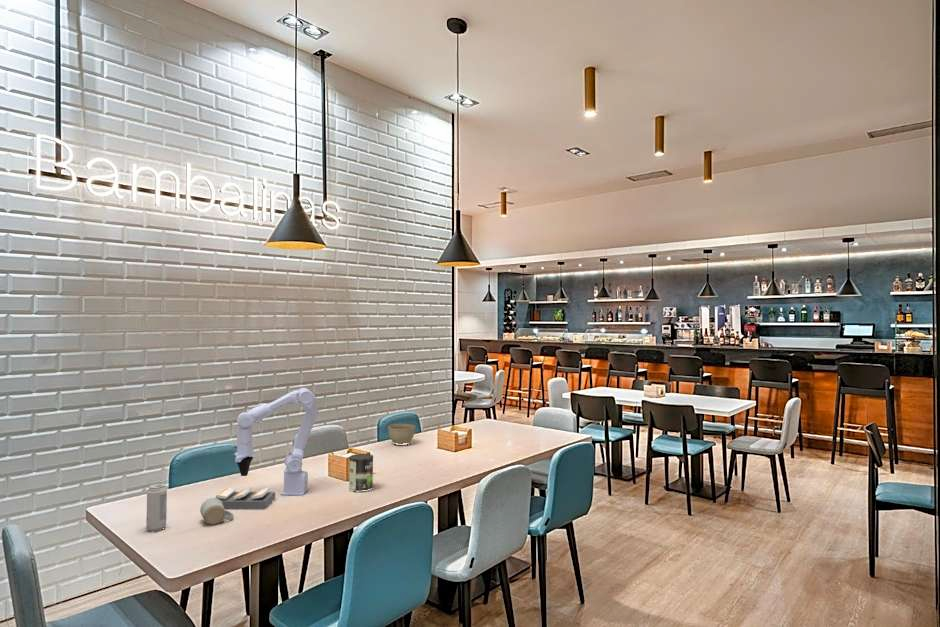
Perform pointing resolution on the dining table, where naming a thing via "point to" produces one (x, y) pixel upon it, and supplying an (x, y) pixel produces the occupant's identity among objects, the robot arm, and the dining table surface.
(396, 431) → the planter bowl
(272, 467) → the dining table surface
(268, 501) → the switch panel
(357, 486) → the coffee can
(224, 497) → the rocker
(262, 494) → the rocker
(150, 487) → the energy drink can
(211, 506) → the ceramic mug
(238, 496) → the rocker middle
